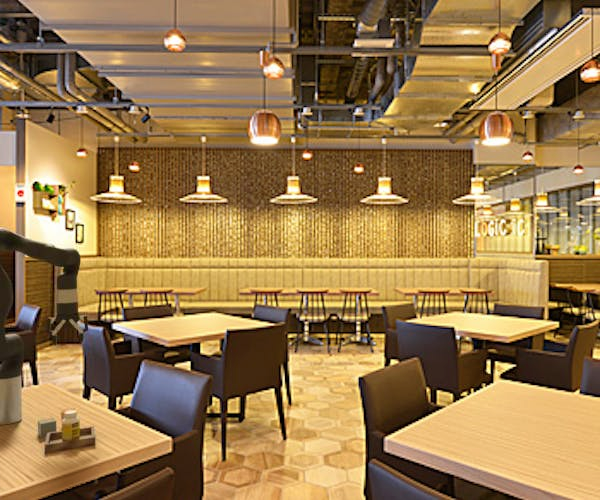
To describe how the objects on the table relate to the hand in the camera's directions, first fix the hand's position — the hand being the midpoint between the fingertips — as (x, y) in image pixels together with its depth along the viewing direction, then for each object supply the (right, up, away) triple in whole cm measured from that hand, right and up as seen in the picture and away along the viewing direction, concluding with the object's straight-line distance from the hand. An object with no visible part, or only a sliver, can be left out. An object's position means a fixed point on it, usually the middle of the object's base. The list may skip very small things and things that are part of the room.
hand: (68, 344), depth 190 cm
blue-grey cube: (-2, -30, -11) cm, 32 cm away
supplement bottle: (+10, -29, -20) cm, 37 cm away
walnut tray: (+10, -30, -20) cm, 37 cm away
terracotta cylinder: (+2, -30, -4) cm, 30 cm away
